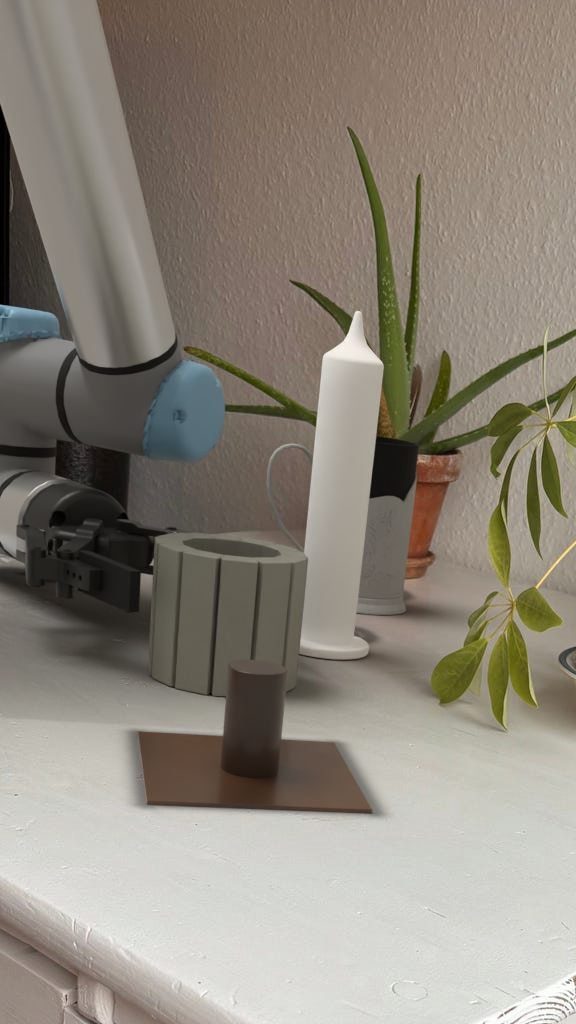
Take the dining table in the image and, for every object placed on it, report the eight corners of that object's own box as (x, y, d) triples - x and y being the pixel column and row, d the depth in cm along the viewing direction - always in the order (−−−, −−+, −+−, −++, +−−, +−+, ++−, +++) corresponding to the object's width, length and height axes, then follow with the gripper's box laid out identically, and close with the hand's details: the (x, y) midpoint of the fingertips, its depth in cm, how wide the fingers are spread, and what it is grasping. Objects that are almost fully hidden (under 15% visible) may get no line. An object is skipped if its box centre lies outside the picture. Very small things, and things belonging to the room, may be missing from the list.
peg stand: (145, 829, 62) (152, 688, 59) (136, 756, 71) (142, 632, 69) (369, 837, 65) (385, 704, 63) (331, 766, 75) (344, 648, 72)
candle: (293, 658, 98) (327, 304, 89) (268, 635, 104) (297, 301, 95) (380, 661, 101) (421, 320, 92) (351, 639, 107) (387, 316, 98)
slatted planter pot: (152, 692, 84) (159, 553, 81) (145, 654, 93) (152, 527, 89) (304, 702, 87) (317, 568, 84) (284, 664, 96) (295, 542, 92)
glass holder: (418, 617, 119) (440, 450, 114) (269, 608, 114) (284, 431, 108) (388, 596, 127) (407, 438, 121) (246, 587, 121) (259, 420, 116)
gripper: (197, 575, 111) (355, 635, 98) (-93, 579, 94) (52, 653, 81) (202, 486, 109) (366, 536, 96) (-95, 474, 91) (55, 532, 78)
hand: (222, 590), depth 88 cm, fingers open, 13 cm apart
